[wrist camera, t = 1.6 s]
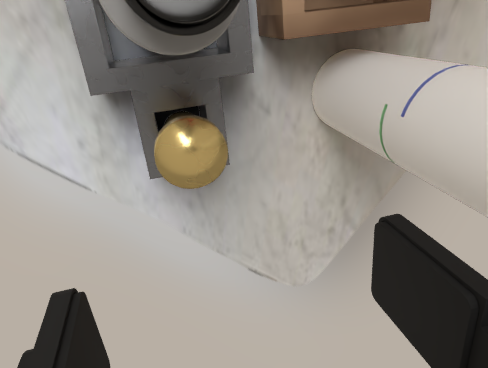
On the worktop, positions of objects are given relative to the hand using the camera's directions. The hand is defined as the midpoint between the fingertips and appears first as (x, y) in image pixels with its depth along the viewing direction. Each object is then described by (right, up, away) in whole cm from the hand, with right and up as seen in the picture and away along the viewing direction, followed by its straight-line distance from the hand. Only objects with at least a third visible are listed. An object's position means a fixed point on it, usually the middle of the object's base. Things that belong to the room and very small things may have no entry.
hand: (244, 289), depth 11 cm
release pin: (-4, +7, +16) cm, 18 cm away
